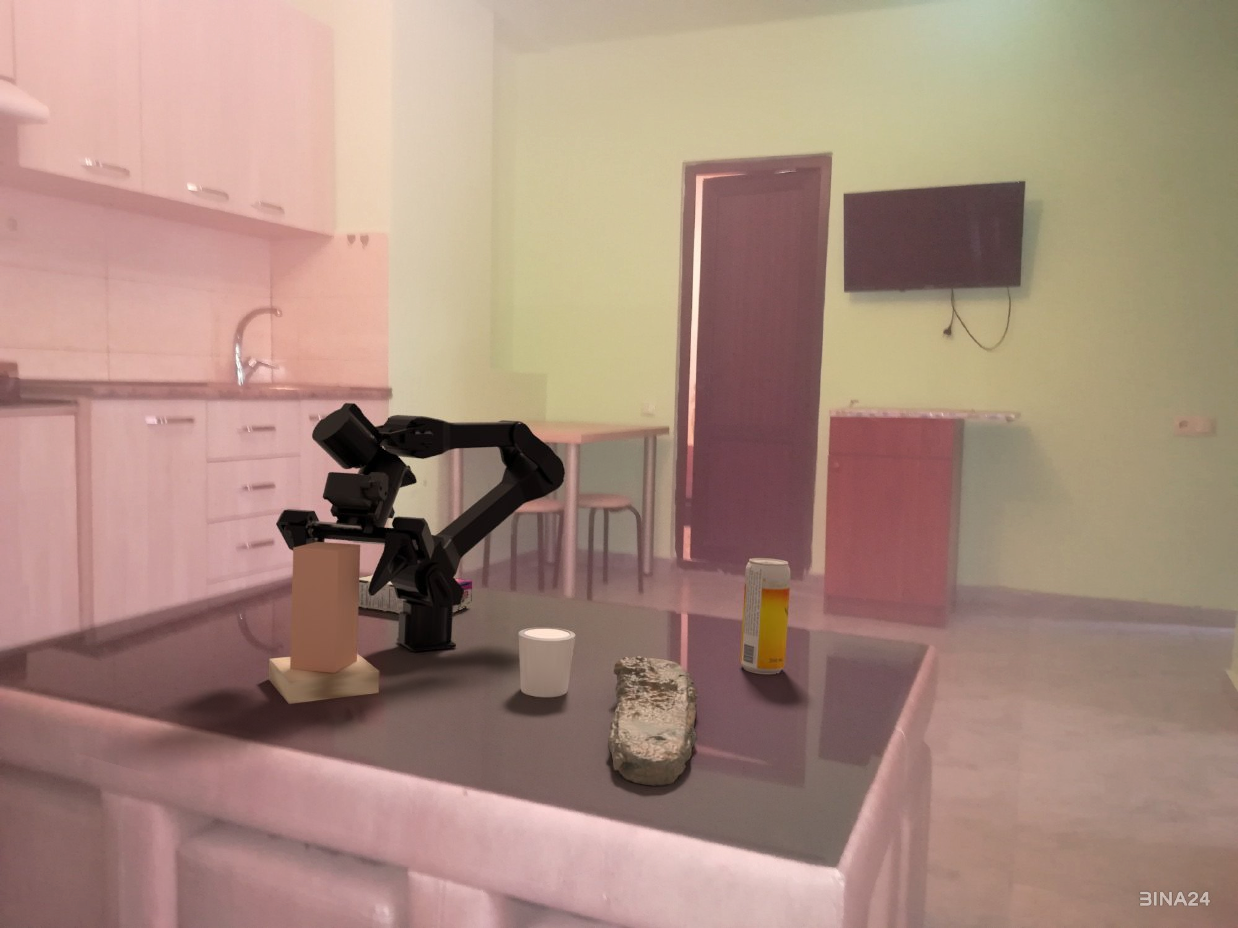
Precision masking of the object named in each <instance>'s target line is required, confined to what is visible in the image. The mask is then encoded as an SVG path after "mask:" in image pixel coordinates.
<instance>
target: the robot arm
mask: <svg viewBox="0 0 1238 928" xmlns="http://www.w3.org/2000/svg"><path fill="white" fill-rule="evenodd" d="M311 438H312V440H313V442H316V444H317V445H318V446H319V447H320V448H321V449H323V451H324V452H325V453H326V454H328V455H329V457H330V458H331V459H332V460H334V461H335V462H336V463H337V464H338V466H340V467H341V468H342V469H343V470H351V469H356V470H357V469H359V470H358V471H357V473H355V472H354V473H353V472H340V471H330V472H328V473H327V477H326V482H325V484H324V485H325V486H324V490H323V493H322V499H323V500H325V501H328V502H329V503H330V504H331V508H330V510H329V511H330V513H331V516H332V517H333V518H335V517H336V519H337V520H336V521H334V522H333V521H320V520H319V517H318V515H317V513H316V511H315V510H309V509H308V510H306V509H293V508H287V509H284V510H283V511H282V512H281V513H280V515H279V516H278V519H277V521H276V523H275V526H276V527H277V529H278V531H279V533H280V534H281V536H282V539H284V542H285V544H286V545H287V548H288V549H289V550H290V551H292V552H293V548H294V547H298V546H302V545H306V544H311V543H315V542H325V540H338V541H348V542H352V543H353V544H355V543H356V544H371V545H381V546H383V545H384V547H383V551H382V554H381V556H380V558H379V560H378V562H377V564H376V565H377V566H376V567H375V570H374V572H373V574H372V575H373V576H372V579H371V582H370V585H369V589H368V592H369V595H370V596H374V595H375V594H376V593H377V592H378V591H379V590H381V589H382V588H383V587H384V586H385V585H386V584H387V583H389V582H391V583H392V584H393V586H394V589H395V592H396V596H397V598H399V599H405V600H404V601H403V612H400V613H398V631H397V633H398V634H397V638H396V642H398V643H399V644H400V645H402V646H404V647H405V648H406V649H408V650H410V651H412V652H421V651H432V650H441V649H443V650H444V649H450V648H451V649H452V648H456V647H457V643H456V642H454V641H453V640H452V635H453V616H454V615H453V614H454V613H453V606H454V605H459V604H460V603H461V600H462V596H463V593H464V589H463V588H462V587H461V586H460V585H459V583H458V582H457V581H456V580H455V579H454V578H455V576H456V575H457V572H458V569H459V565H460V562H461V559H463V557H464V556H465V555H466V554H468V552H470V551H471V550H472V549H474V548H475V547H476V546H477V545H478V544H479V543H480V542H482V541H483V539H485V538H486V537H487V536H488V535H490V534H491V533H493V532H494V530H495V529H496V528H497V527H499V526H500V525H501V524H502V523H503V522H505V520H507V519H508V518H509V517H510V516H512V515H513V514H514V513H515V512H516V511H517V510H519V509H520V508H521V507H522V506H523V505H525V504H526V503H529V502H532V501H533V502H534V501H536V500H539V499H542V498H545V497H547V496H549V495H550V494H552V493H554V492H555V491H557V490H558V489H559V488H560V487H561V486H562V485H563V484H564V481H565V475H566V469H565V467H564V462H563V461H562V459H561V458H560V457H559V456H558V455H556V453H555V452H554V450H553V449H552V448H551V447H550V446H549V445H548V444H547V443H545V442H544V441H543V440H542V439H540V438H539V437H538V436H536V435H535V434H534V433H533V431H532V430H531V429H530V427H529V425H527V424H526V423H524V422H523V421H520V420H504V419H503V420H499V421H475V422H474V421H471V422H463V421H461V422H451V421H450V422H449V421H447V420H443V419H438V418H434V417H429V416H422V415H409V414H408V415H407V414H406V415H404V414H396V415H395V414H394V415H391V416H389V417H388V418H387V420H386V421H385V422H384V424H380V425H377V426H375V425H374V424H373V423H372V422H371V421H370V419H369V418H367V417H366V415H365V414H364V413H363V411H362V409H361V408H360V407H359V406H358V405H357V404H356V403H355V402H345V403H344V404H343V405H342V406H341V407H340V408H338V409H337V410H334V411H332V412H331V413H329V414H328V415H327V416H325V417H324V418H321V419H320V420H319V422H318V423H317V424H316V425H315V426H314V428H313V430H312V434H311ZM479 448H480V449H481V448H498V449H499V453H500V458H501V462H502V463H503V465H504V466H505V469H504V471H503V475H502V479H501V481H500V482H499V483H497V485H496V486H494V487H493V488H492V489H491V490H489V492H487V493H486V494H484V496H482V497H481V498H480V499H479V500H477V501H476V502H475V503H474V504H472V505H471V506H470V507H469V508H467V509H466V510H465V511H463V512H462V513H461V514H460V515H459V516H458V517H456V519H454V520H453V521H452V522H451V523H449V524H448V525H447V526H446V527H444V528H443V529H442V530H441V531H440V532H438V533H437V534H432V532H431V529H430V526H429V524H428V523H429V522H428V521H427V520H426V519H425V518H424V517H414V516H411V517H410V516H399V515H398V516H395V513H396V511H395V509H394V504H395V501H396V499H397V496H398V493H399V491H400V489H401V488H404V487H408V486H411V485H415V484H417V481H418V480H417V478H416V475H415V473H413V471H412V468H411V466H410V465H409V464H406V463H405V462H404V460H402V458H410V459H411V458H412V459H419V460H420V459H421V460H424V459H425V460H426V459H429V458H432V457H437V456H440V455H443V454H445V453H447V452H449V451H451V450H456V449H458V450H459V449H479ZM400 457H401V458H400ZM388 519H392V521H391V527H386V525H387V522H388Z"/></svg>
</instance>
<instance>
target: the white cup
mask: <svg viewBox="0 0 1238 928" xmlns="http://www.w3.org/2000/svg"><path fill="white" fill-rule="evenodd" d="M575 641H576V634H575V633H574V632H573V631H570V630H568V629H565V628H560V627H559V628H558V627H545V626H544V627H540V626H539V627H538V626H537V627H530V628H529V627H528V628H524V629H521V630H520V631H519V632H518V655H519V658H518V659H519V677H520V690H521V691H520V692H522V693H523V694H525V695H527V696H533V697H536V698H537V697H538V698H555V697H561V696H564V695H566V694H567V692H568V689H569V683H570V676H571V675H570V674H571V669H572V663H573V662H572V661H573V654H574V647H575V643H576V642H575Z"/></svg>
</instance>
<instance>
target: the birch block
mask: <svg viewBox="0 0 1238 928" xmlns="http://www.w3.org/2000/svg"><path fill="white" fill-rule="evenodd" d="M268 661H269V662H268V663H269V665H268V681H270V683H271V684H272V685H273V686H274V688H275V689H276V690H277V692H278V693H279V694H280V695H281V696H282V697H283V698H284V700H285V702H287V703H288V704H289V705H292V704H299V703H300V704H301V703H307V702H314V701H316V702H317V701H321V700H331V699H338V698H339V699H340V698H347V697H354V696H356V697H357V696H365V695H372V694H379V693H380V691H379V690H380V670H379V669H377V668H376V667H375V666H373V664H371V663H370V662H369V661H368V660H366V659H365V658H364V657H362V656H361V655H360V654H359V653H357V661H356V662H354V663H352V664H350V665H349V666H347V667H345V668H343V669H341V670H340V671H338V672H336V673H328V672H317V671H306V670H295V669H290V656H284V657H275V658H274V657H273V658H269V660H268Z"/></svg>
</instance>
